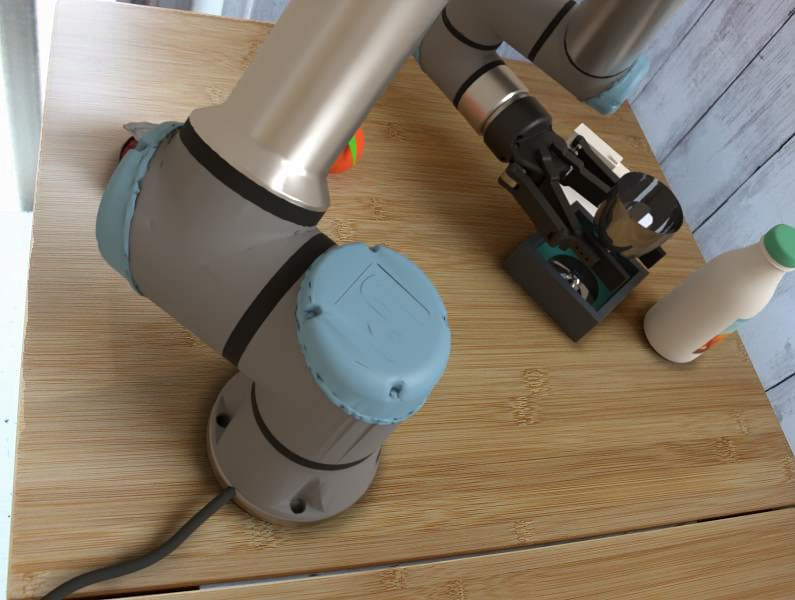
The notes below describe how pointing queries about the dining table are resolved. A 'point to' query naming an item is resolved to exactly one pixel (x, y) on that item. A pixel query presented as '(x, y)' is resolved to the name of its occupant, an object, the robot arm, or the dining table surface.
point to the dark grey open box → (557, 292)
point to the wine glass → (626, 227)
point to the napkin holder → (604, 154)
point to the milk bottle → (720, 296)
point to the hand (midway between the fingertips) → (639, 272)
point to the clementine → (349, 153)
